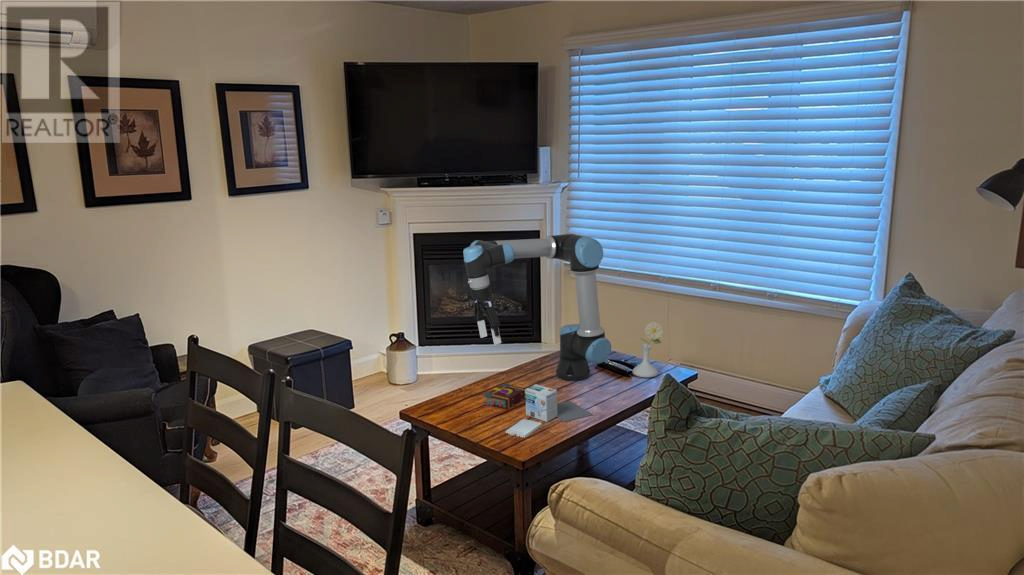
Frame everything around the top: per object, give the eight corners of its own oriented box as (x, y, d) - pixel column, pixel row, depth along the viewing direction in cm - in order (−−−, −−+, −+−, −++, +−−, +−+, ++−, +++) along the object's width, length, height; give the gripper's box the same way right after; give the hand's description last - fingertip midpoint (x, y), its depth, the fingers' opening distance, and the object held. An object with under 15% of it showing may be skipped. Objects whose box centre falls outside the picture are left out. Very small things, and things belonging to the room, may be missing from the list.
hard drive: (523, 418, 259) (505, 430, 249) (542, 423, 255) (525, 435, 244) (523, 422, 259) (505, 434, 249) (542, 427, 255) (525, 439, 245)
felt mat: (569, 401, 278) (569, 400, 278) (593, 415, 264) (593, 414, 264) (542, 407, 272) (542, 407, 271) (564, 422, 258) (564, 421, 258)
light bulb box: (525, 415, 264) (524, 388, 262) (536, 409, 269) (535, 383, 267) (547, 422, 257) (546, 395, 255) (558, 416, 262) (557, 389, 260)
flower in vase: (629, 378, 304) (631, 323, 299) (635, 370, 314) (637, 316, 309) (659, 381, 299) (661, 326, 294) (664, 373, 309) (666, 319, 304)
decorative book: (527, 398, 282) (527, 387, 281) (505, 411, 269) (505, 399, 268) (505, 393, 288) (504, 382, 287) (481, 405, 275) (481, 393, 274)
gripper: (459, 285, 269) (469, 336, 274) (483, 294, 247) (494, 349, 252) (476, 280, 272) (486, 331, 277) (502, 288, 250) (513, 343, 254)
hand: (490, 340), depth 264 cm, fingers open, 13 cm apart
